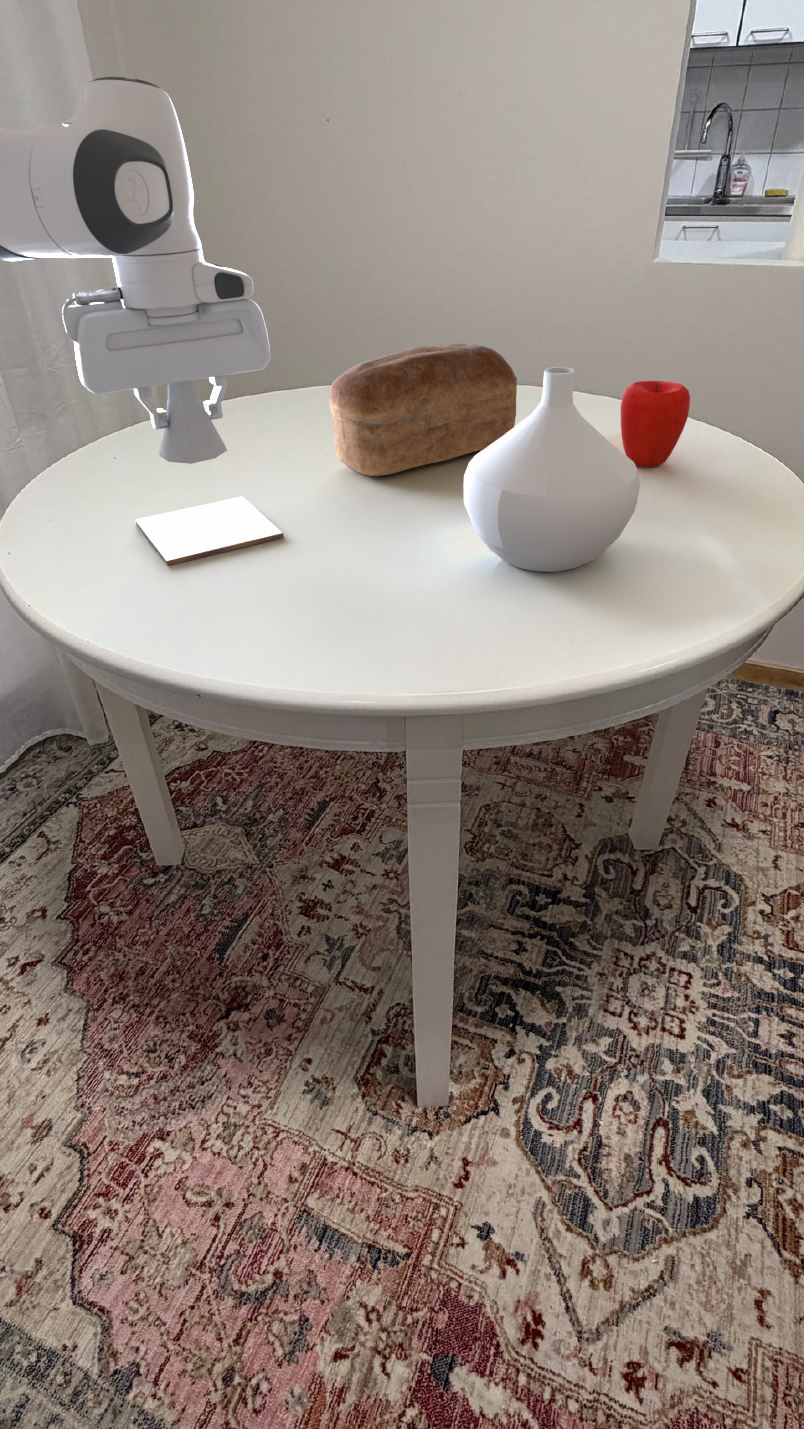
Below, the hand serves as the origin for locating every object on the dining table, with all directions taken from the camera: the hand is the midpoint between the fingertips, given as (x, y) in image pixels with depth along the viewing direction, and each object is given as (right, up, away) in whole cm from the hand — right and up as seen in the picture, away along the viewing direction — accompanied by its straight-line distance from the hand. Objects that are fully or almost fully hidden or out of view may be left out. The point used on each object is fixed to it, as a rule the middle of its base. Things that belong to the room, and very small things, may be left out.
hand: (188, 422), depth 89 cm
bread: (+27, +5, +28) cm, 39 cm away
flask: (0, -3, +2) cm, 4 cm away
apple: (+58, +3, +23) cm, 62 cm away
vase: (+40, -15, 0) cm, 42 cm away
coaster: (0, -10, +8) cm, 13 cm away
